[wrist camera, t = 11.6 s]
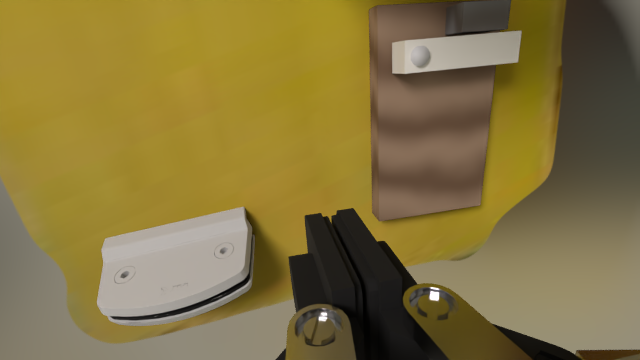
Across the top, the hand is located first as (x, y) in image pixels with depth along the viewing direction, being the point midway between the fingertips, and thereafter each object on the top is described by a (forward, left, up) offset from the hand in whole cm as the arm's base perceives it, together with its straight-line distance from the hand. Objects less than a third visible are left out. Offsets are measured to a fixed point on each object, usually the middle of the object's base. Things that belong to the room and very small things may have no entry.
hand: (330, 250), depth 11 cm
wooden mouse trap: (+1, +18, -27) cm, 33 cm away
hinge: (+14, -13, -28) cm, 33 cm away
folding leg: (-6, +19, -24) cm, 31 cm away
